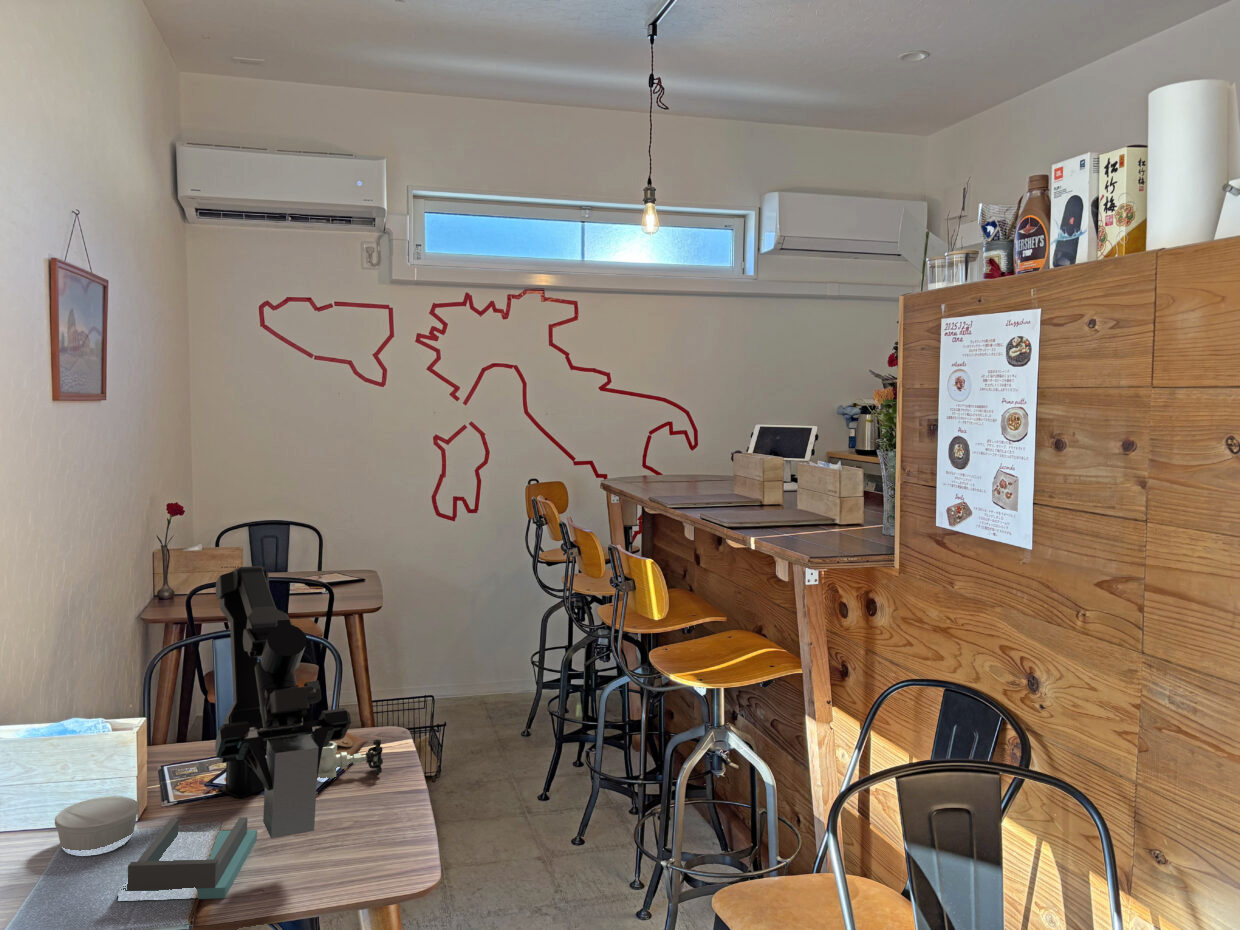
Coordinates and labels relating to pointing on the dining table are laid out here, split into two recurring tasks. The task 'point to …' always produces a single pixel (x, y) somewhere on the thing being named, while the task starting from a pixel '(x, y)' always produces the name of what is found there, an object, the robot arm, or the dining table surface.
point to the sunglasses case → (349, 745)
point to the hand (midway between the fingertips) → (292, 785)
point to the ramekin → (96, 822)
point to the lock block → (291, 785)
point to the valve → (348, 759)
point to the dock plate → (193, 863)
